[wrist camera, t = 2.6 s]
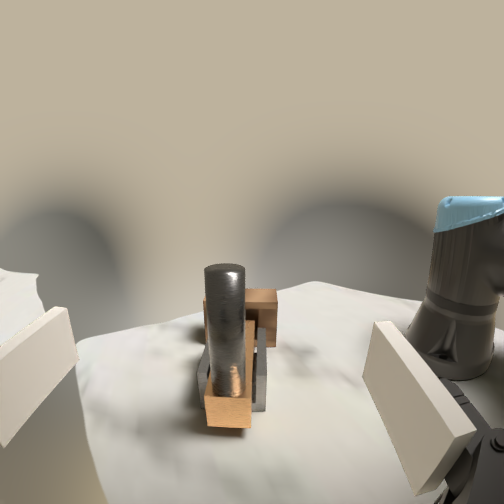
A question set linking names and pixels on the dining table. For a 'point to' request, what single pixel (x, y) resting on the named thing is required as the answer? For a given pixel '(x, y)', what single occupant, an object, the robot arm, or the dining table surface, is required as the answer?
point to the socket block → (258, 313)
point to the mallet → (228, 348)
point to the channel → (258, 373)
